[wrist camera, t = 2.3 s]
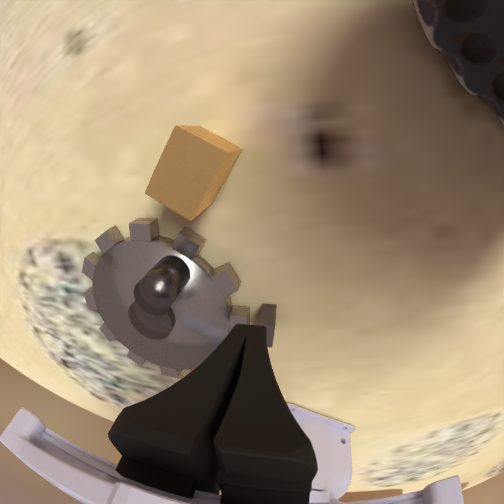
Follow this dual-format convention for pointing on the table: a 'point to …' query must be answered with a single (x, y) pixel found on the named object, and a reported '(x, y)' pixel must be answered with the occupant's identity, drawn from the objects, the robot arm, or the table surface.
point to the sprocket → (162, 296)
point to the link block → (191, 170)
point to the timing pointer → (268, 321)
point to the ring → (469, 43)
